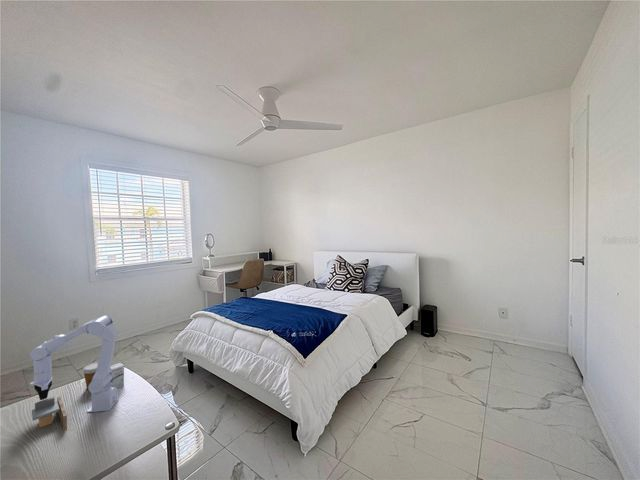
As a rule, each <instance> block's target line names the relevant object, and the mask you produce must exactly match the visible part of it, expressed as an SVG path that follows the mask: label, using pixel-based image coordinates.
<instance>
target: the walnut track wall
mask: <svg viewBox="0 0 640 480" xmlns="http://www.w3.org/2000/svg"><path fill="white" fill-rule="evenodd" d="M56 401H57V403H58V406H59V411H58V416H59V419H60V422H61V426H62V429H63V431H65V430H68V415H67V412H66V409H65V406H64V403H63V401H62V397H61V396H60V395H59V396H57V400H56Z"/></svg>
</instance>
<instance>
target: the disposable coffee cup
mask: <svg viewBox="0 0 640 480" xmlns="http://www.w3.org/2000/svg"><path fill="white" fill-rule="evenodd" d="M97 365H98V361H94V362H92V363H89V364H87V365H85V366H84V367H83V369H82V372H83V374H84V381H85V387H86V389H87V390H88V391H89V389H88V386H89V384H90V383H91V382H92V378H93V376H94V375H95V373H96V370H97Z"/></svg>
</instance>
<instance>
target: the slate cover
mask: <svg viewBox="0 0 640 480" xmlns="http://www.w3.org/2000/svg"><path fill="white" fill-rule="evenodd" d="M58 411H59V406H58V403H57V400H56V401H55V396H52V397H49V398H46V399H43V400H39V401H36V402H35V403H34V409H31V416H32V421H36V420H39V418H42V417H45V416H47V415H50V414H55V413H57V412H58Z"/></svg>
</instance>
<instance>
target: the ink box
mask: <svg viewBox="0 0 640 480" xmlns="http://www.w3.org/2000/svg"><path fill="white" fill-rule="evenodd" d="M110 368H112V374H113V379H112V380H111V381H110V384H111V386H112V387H116V388H117V389H118V388H121V387H124V385H125V365H124V364H123V363H122V362H119V363H115V364H111V367H110Z"/></svg>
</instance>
